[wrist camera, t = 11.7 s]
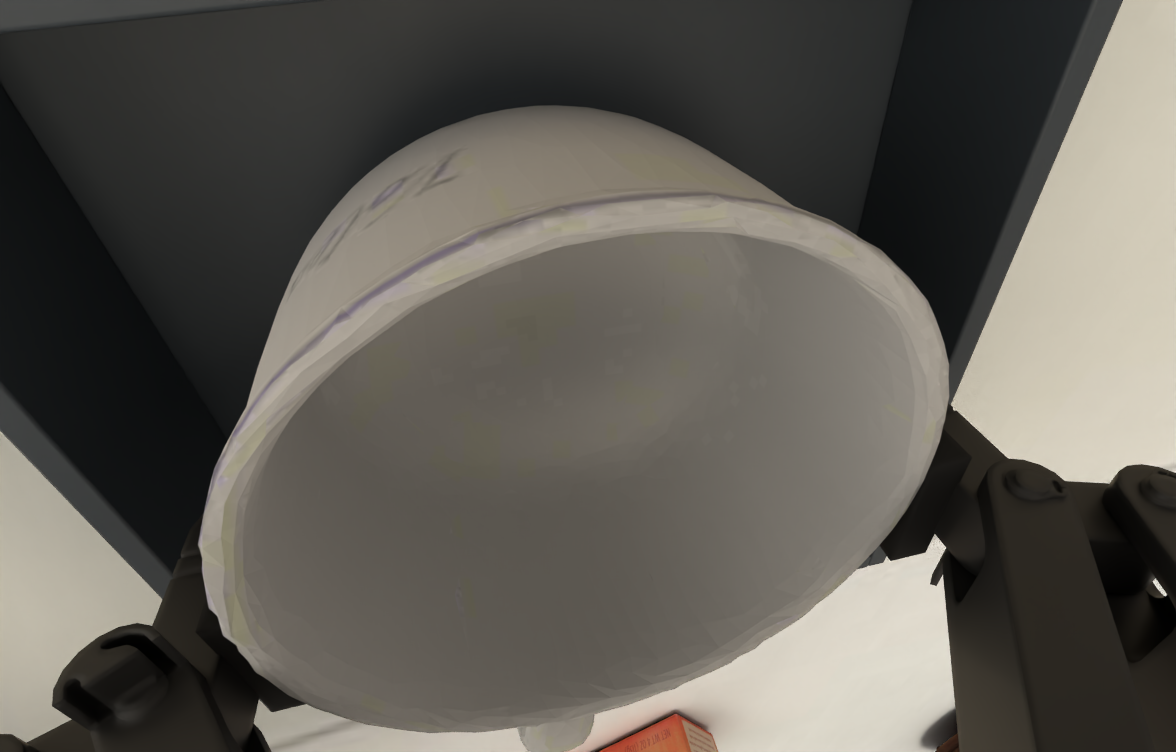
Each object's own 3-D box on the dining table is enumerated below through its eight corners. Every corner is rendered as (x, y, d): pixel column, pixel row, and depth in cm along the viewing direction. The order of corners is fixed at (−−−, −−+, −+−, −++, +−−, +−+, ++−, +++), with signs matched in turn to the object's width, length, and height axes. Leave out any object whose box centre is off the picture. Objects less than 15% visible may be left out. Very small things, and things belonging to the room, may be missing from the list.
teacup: (330, -37, 10) (175, 38, 4) (825, 146, 14) (1145, 328, 8) (283, 512, 17) (204, 844, 11) (616, 529, 21) (695, 780, 15)
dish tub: (300, 565, 21) (271, 713, 17) (-86, -28, 10) (-414, 7, 6) (808, 455, 24) (884, 563, 20) (946, -120, 13) (1183, -136, 9)
